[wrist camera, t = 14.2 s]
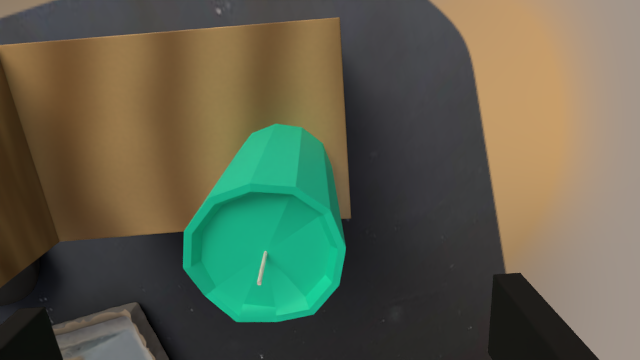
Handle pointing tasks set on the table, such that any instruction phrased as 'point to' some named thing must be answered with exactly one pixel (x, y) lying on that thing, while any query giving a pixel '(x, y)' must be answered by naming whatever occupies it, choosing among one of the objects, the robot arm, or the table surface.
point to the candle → (269, 230)
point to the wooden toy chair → (151, 125)
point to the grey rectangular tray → (109, 336)
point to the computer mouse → (20, 284)
